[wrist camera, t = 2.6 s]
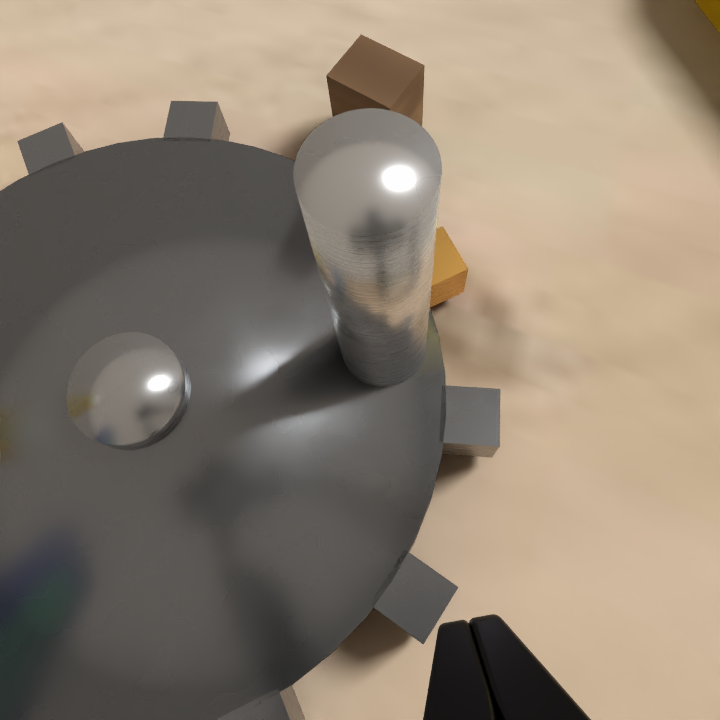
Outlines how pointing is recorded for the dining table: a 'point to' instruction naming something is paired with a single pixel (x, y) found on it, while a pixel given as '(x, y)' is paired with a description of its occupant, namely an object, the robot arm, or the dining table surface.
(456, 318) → the dining table surface
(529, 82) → the dining table surface
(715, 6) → the element tile
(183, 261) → the sprocket
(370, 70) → the brown rectangular block
